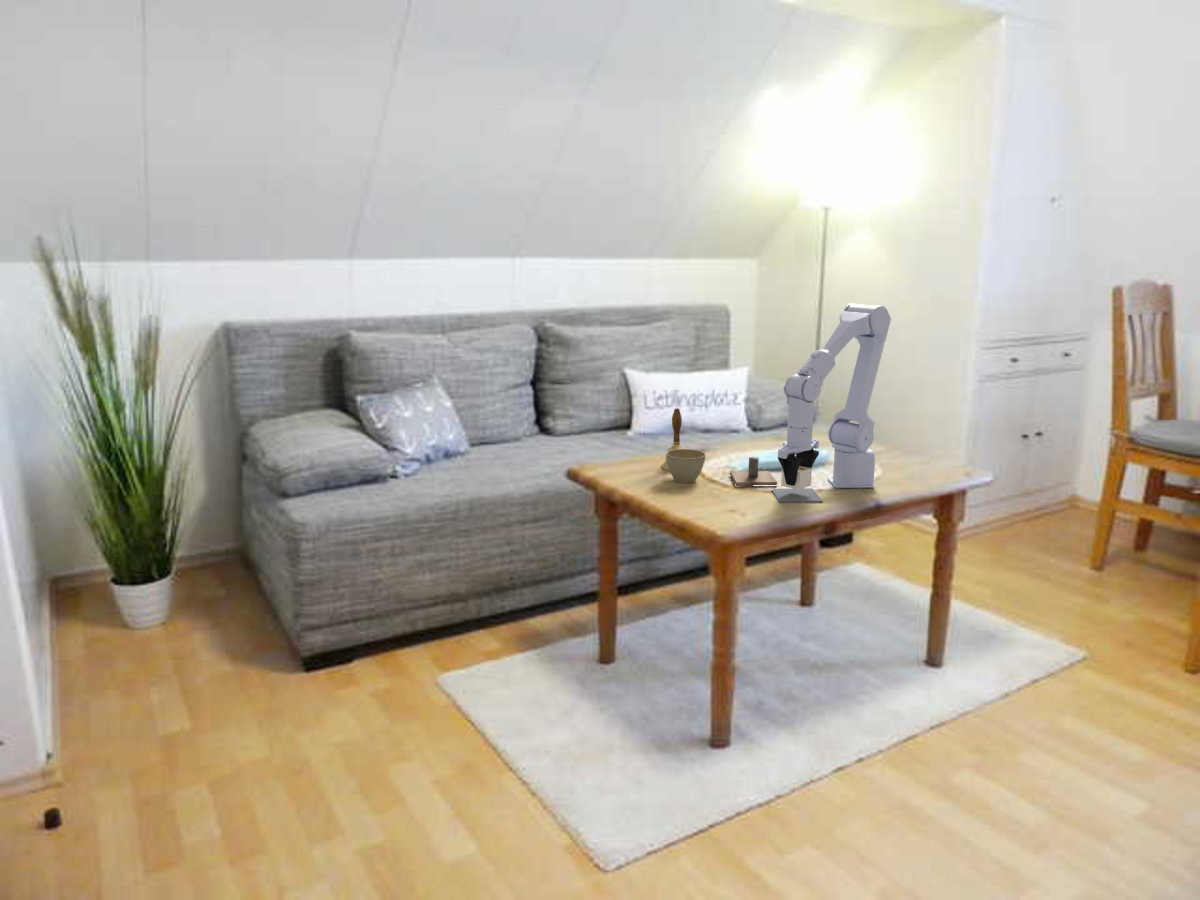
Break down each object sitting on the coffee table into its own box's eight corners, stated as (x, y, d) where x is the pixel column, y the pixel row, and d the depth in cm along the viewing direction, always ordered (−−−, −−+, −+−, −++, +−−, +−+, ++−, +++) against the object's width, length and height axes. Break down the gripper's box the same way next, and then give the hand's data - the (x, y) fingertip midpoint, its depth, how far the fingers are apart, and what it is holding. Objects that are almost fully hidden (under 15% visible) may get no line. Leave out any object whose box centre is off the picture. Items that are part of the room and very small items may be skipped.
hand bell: (654, 467, 229) (655, 409, 225) (672, 461, 235) (673, 404, 231) (680, 473, 224) (681, 413, 220) (698, 466, 230) (699, 408, 226)
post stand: (768, 475, 221) (769, 453, 219) (776, 486, 211) (777, 463, 210) (730, 475, 221) (730, 453, 219) (736, 487, 211) (737, 463, 210)
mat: (812, 490, 208) (812, 488, 208) (822, 502, 198) (822, 500, 198) (771, 490, 208) (771, 488, 208) (779, 502, 198) (779, 501, 198)
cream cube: (811, 485, 203) (811, 467, 202) (799, 489, 199) (800, 471, 198) (792, 481, 206) (793, 463, 205) (781, 485, 203) (781, 467, 202)
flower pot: (703, 487, 211) (703, 459, 209) (662, 485, 213) (663, 457, 211) (706, 476, 221) (707, 449, 219) (668, 474, 223) (668, 447, 221)
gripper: (801, 419, 207) (798, 473, 210) (767, 428, 197) (765, 485, 200) (827, 423, 202) (824, 478, 205) (794, 433, 192) (791, 491, 195)
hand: (796, 482), depth 202 cm, fingers closed on cream cube, 5 cm apart
